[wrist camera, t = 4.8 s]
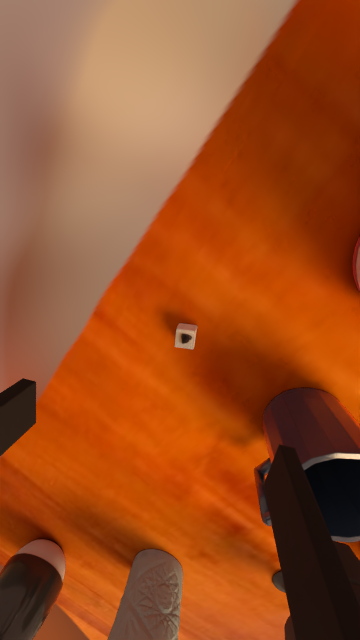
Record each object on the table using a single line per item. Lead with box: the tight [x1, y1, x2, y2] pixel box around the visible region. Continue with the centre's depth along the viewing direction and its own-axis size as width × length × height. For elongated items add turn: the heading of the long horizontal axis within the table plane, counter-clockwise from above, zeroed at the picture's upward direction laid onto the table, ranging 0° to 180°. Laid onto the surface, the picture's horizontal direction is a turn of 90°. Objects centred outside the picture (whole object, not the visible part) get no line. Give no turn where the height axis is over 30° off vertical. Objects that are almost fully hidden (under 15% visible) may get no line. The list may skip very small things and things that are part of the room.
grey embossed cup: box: [108, 549, 183, 640], centre depth 34 cm, size 10×10×12 cm
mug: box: [254, 387, 360, 542], centre depth 25 cm, size 13×10×10 cm
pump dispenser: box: [0, 539, 66, 640], centre depth 36 cm, size 10×10×15 cm
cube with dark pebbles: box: [175, 323, 197, 349], centre depth 27 cm, size 2×2×2 cm
